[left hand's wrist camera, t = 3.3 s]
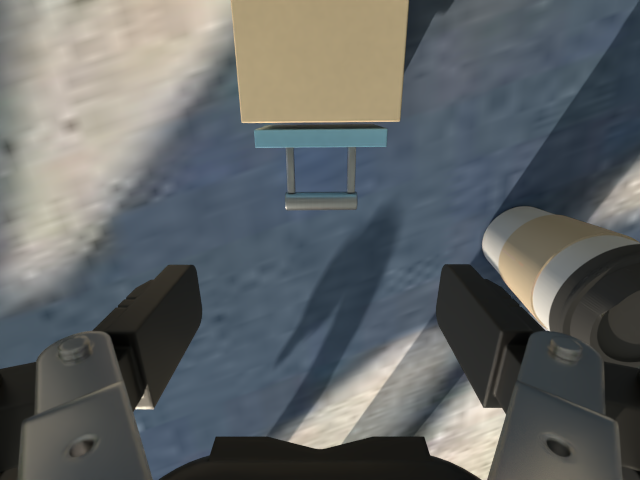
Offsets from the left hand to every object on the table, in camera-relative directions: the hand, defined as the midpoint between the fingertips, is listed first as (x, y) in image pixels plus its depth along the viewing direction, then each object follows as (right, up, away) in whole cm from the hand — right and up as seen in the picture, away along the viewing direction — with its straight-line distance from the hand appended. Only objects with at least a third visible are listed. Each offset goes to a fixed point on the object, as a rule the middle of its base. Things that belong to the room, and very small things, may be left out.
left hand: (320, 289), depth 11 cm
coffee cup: (+20, +2, +23) cm, 31 cm away
